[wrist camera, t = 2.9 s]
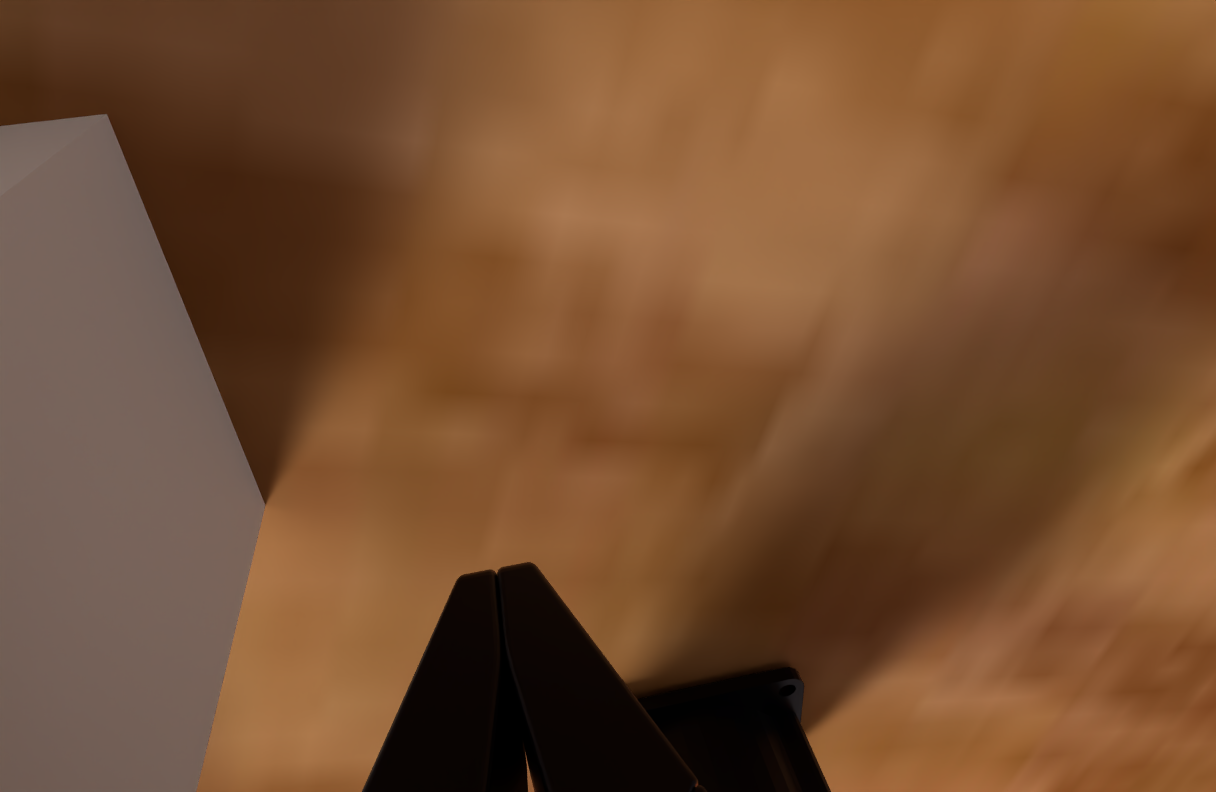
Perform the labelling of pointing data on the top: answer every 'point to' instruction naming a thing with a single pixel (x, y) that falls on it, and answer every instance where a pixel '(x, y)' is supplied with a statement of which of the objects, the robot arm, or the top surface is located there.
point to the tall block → (107, 483)
